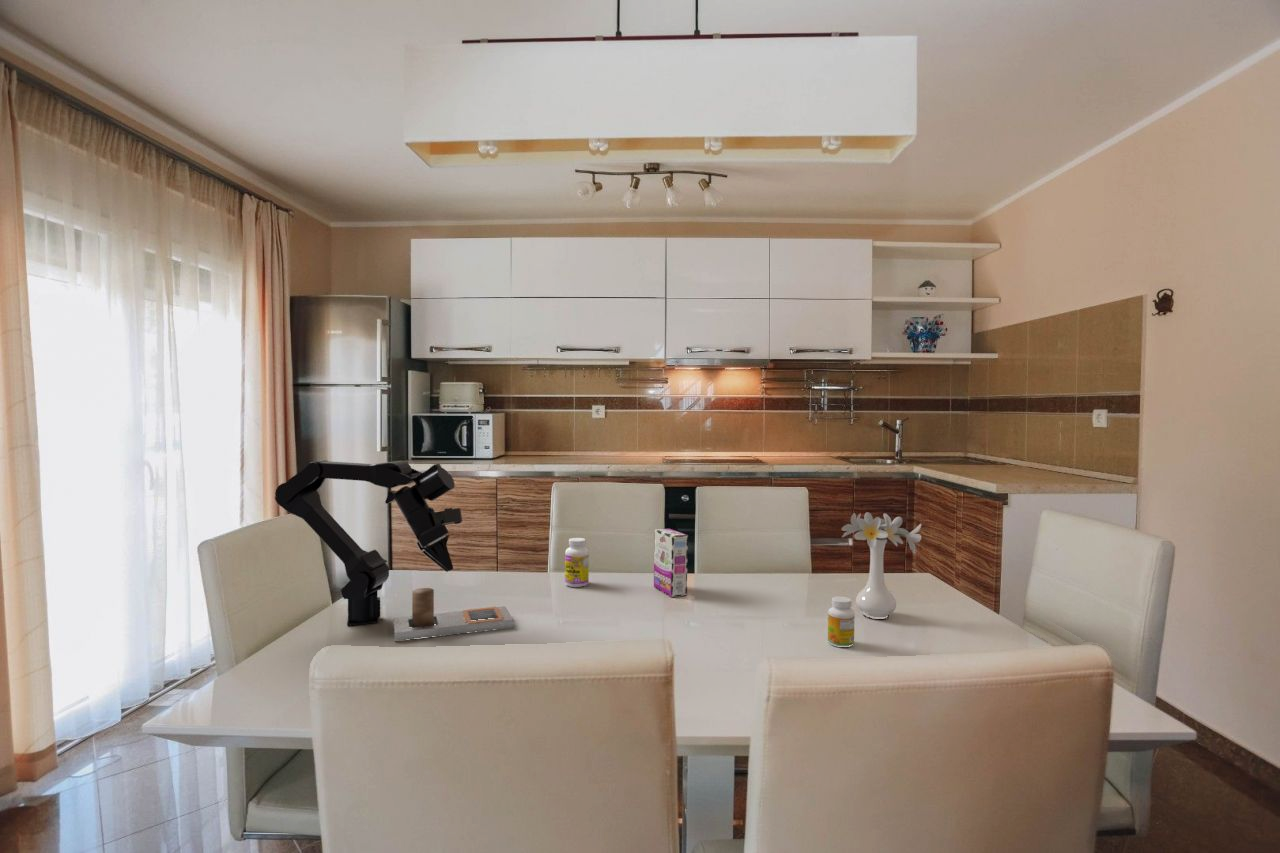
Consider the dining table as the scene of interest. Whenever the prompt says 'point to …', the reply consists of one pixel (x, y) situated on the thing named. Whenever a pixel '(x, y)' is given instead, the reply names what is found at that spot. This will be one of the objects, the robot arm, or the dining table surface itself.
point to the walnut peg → (422, 607)
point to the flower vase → (878, 559)
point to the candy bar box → (670, 562)
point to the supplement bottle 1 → (576, 563)
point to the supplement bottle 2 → (841, 622)
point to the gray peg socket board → (455, 623)
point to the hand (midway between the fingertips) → (450, 570)
